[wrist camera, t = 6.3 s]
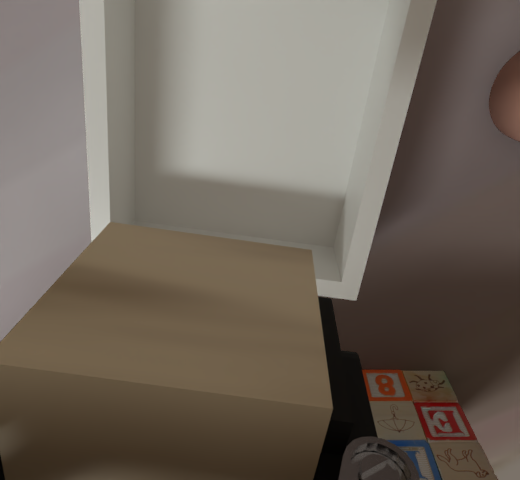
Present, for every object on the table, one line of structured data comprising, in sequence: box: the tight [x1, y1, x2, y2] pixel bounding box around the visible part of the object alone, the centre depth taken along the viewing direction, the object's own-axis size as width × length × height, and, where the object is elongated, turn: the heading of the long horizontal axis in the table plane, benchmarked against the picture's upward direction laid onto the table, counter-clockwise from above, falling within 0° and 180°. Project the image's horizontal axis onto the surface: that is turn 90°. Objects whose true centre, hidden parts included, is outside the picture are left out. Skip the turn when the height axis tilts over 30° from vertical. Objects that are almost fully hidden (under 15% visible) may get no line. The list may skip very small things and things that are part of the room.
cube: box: [0, 222, 333, 480], centre depth 9 cm, size 5×5×5 cm
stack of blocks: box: [362, 370, 498, 480], centre depth 27 cm, size 21×6×12 cm, turn 93°
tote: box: [79, 0, 437, 301], centre depth 21 cm, size 18×14×5 cm
